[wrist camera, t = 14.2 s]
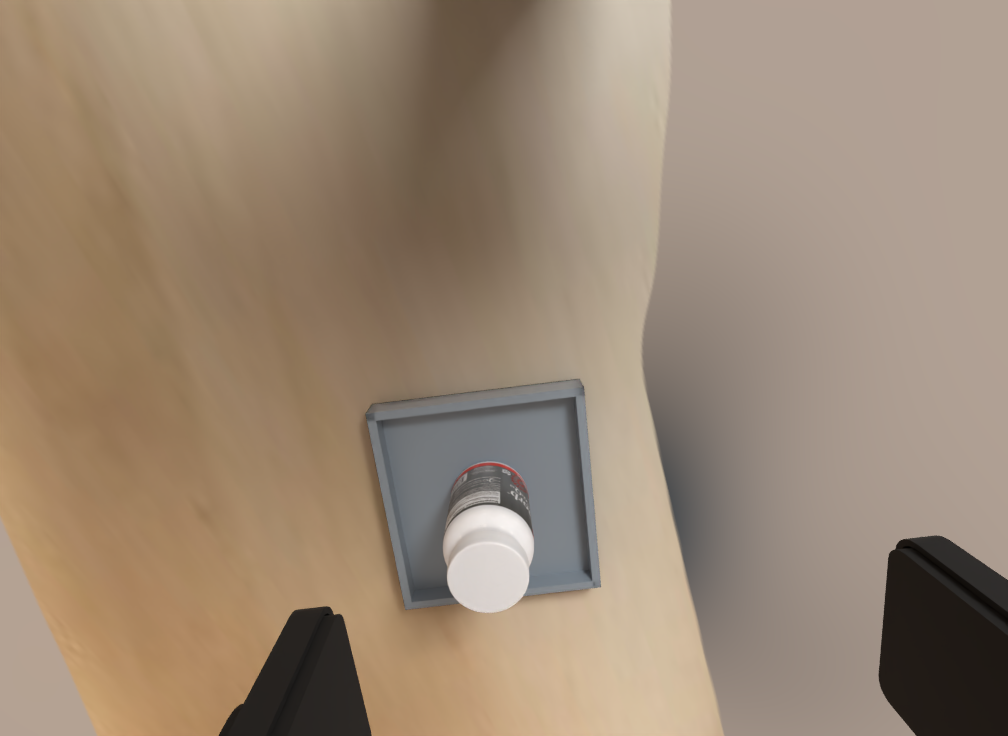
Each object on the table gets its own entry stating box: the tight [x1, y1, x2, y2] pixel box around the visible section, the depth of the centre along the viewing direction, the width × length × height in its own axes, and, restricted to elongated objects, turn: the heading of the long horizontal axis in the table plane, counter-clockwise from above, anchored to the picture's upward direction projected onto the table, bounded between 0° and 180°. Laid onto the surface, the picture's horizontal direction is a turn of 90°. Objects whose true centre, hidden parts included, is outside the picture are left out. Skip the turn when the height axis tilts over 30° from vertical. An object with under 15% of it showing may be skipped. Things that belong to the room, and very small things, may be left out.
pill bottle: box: [443, 461, 534, 613], centre depth 34 cm, size 6×6×10 cm
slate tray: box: [366, 379, 601, 610], centre depth 38 cm, size 16×15×2 cm
